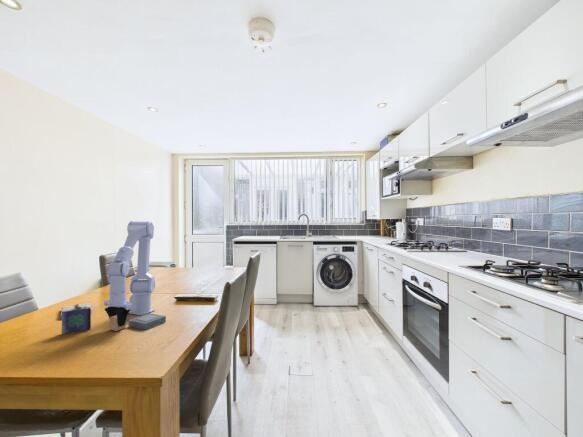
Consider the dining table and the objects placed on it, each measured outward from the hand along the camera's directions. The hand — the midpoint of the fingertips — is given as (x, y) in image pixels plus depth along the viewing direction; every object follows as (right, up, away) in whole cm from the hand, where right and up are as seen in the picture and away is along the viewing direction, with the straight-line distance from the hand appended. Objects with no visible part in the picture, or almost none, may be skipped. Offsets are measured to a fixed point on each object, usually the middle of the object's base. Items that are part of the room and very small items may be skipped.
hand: (117, 324), depth 113 cm
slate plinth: (+9, -2, +6) cm, 11 cm away
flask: (-15, -2, -2) cm, 15 cm away
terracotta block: (0, -1, 0) cm, 1 cm away
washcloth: (-33, -3, +21) cm, 39 cm away
